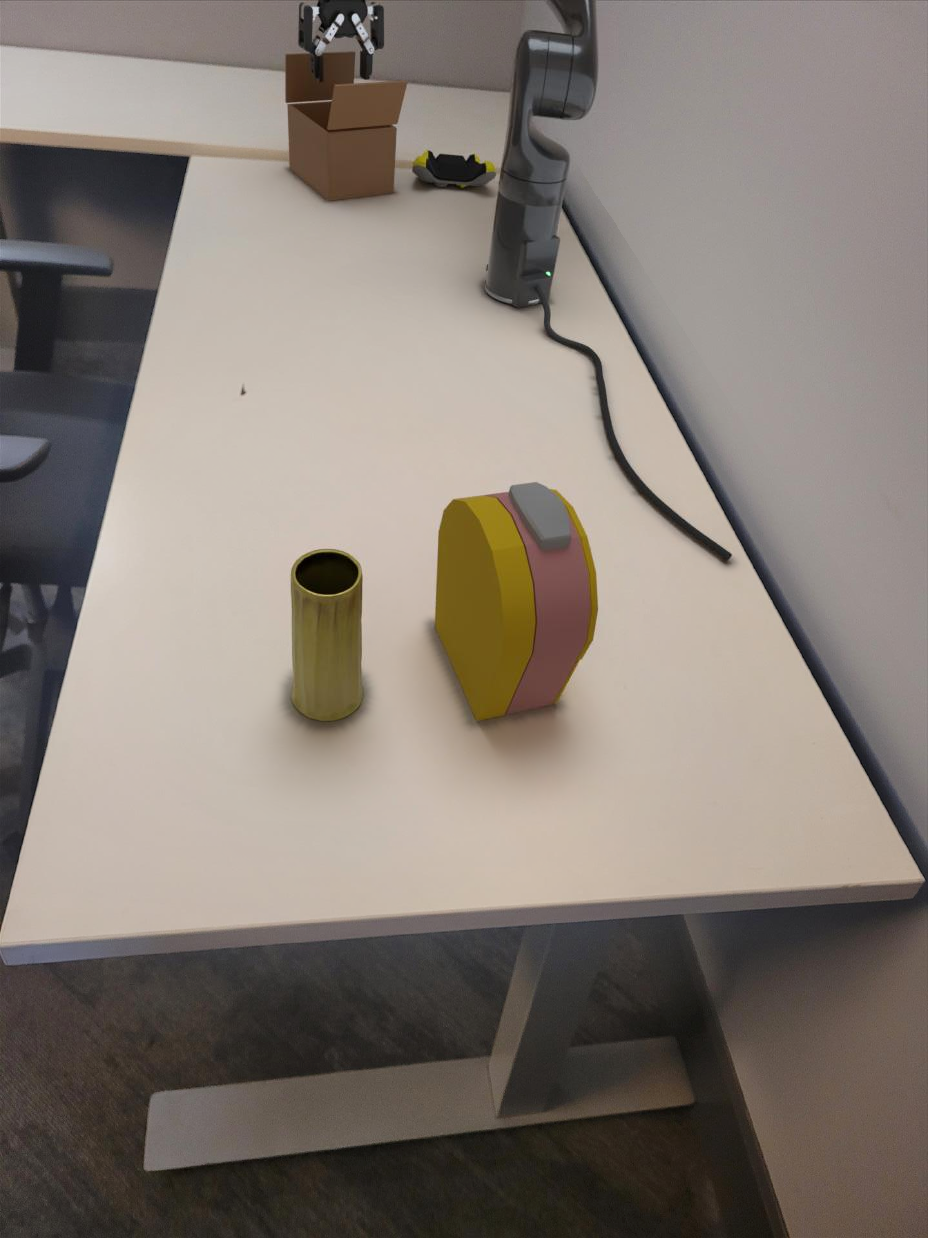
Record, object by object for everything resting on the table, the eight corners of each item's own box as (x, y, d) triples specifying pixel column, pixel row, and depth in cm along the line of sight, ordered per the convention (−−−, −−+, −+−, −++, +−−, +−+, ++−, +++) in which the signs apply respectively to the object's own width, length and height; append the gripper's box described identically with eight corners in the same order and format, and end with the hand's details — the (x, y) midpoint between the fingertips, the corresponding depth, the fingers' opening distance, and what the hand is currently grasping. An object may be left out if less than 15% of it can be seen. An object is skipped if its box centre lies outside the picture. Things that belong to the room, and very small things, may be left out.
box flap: (396, 122, 143) (397, 124, 143) (327, 128, 137) (328, 129, 137) (406, 80, 137) (407, 81, 137) (334, 84, 131) (335, 85, 131)
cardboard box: (393, 192, 151) (399, 77, 138) (327, 200, 145) (327, 81, 132) (351, 160, 159) (353, 49, 147) (287, 167, 154) (283, 52, 141)
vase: (362, 665, 75) (366, 544, 65) (365, 721, 71) (370, 601, 61) (291, 667, 74) (285, 543, 64) (290, 723, 70) (283, 601, 60)
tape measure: (572, 717, 74) (624, 561, 60) (483, 737, 71) (518, 579, 58) (508, 598, 83) (542, 440, 70) (428, 612, 80) (448, 451, 67)
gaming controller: (494, 198, 155) (487, 177, 161) (498, 165, 151) (491, 145, 157) (412, 191, 152) (409, 171, 159) (414, 158, 148) (410, 138, 155)
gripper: (371, -48, 134) (368, 71, 146) (288, -50, 128) (292, 74, 140) (395, -37, 130) (390, 84, 142) (310, -38, 124) (312, 88, 135)
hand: (341, 79), depth 141 cm, fingers open, 8 cm apart
